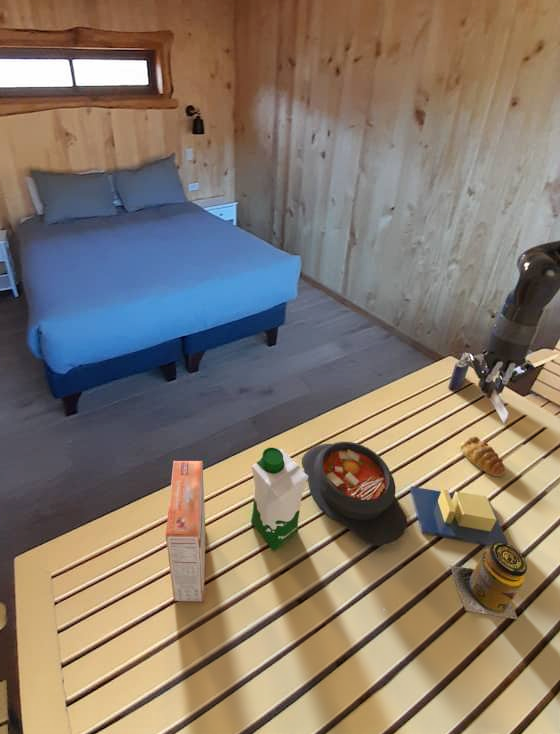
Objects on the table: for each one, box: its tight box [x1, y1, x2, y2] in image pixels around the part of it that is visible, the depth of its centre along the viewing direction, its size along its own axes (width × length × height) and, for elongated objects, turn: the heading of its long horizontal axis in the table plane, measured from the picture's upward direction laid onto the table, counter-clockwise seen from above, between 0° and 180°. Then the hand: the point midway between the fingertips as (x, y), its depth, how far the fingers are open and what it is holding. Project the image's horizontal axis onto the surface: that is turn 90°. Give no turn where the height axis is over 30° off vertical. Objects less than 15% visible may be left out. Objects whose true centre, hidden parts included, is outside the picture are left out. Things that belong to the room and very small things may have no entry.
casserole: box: [301, 441, 409, 546], centre depth 89 cm, size 25×19×8 cm
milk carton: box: [250, 447, 308, 552], centre depth 80 cm, size 9×9×20 cm
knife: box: [478, 378, 510, 425], centre depth 95 cm, size 13×2×3 cm, turn 167°
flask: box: [447, 352, 471, 392], centre depth 120 cm, size 9×3×11 cm, turn 133°
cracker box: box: [165, 460, 206, 603], centre depth 75 cm, size 14×6×21 cm, turn 178°
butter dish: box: [409, 486, 509, 547], centre depth 85 cm, size 16×10×5 cm, turn 78°
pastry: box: [459, 435, 506, 477], centre depth 97 cm, size 9×7×4 cm
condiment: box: [449, 541, 528, 620], centre depth 71 cm, size 7×8×12 cm
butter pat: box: [438, 488, 456, 524], centre depth 85 cm, size 1×5×4 cm, turn 168°
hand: (489, 391), depth 98 cm, fingers closed on knife, 2 cm apart
